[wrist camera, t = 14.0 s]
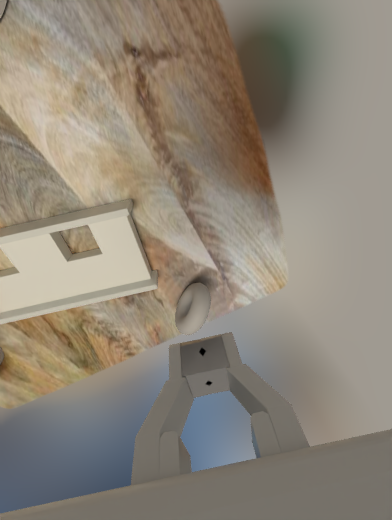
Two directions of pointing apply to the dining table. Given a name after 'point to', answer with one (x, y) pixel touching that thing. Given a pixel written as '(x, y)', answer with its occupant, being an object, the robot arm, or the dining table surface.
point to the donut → (192, 309)
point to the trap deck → (72, 263)
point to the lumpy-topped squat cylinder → (1, 355)
